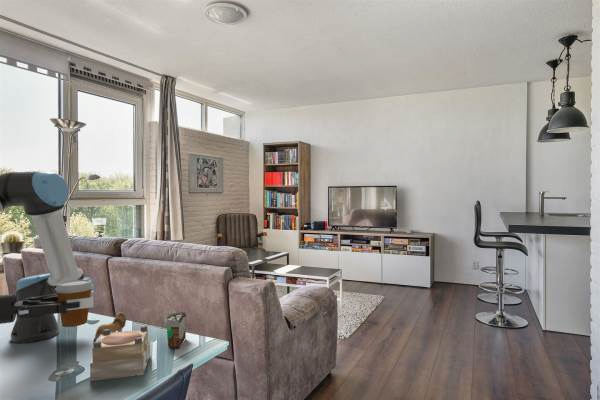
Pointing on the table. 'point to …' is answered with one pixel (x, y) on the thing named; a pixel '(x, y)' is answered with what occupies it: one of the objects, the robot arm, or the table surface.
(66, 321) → the disposable coffee cup
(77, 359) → the table surface
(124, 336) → the wooden crate
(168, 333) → the food container
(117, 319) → the lion figurine
